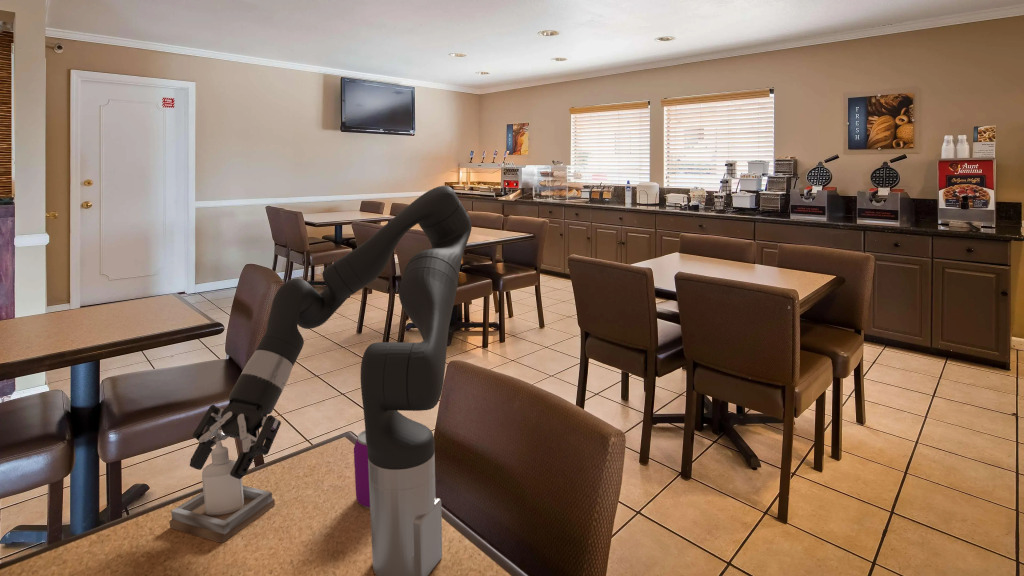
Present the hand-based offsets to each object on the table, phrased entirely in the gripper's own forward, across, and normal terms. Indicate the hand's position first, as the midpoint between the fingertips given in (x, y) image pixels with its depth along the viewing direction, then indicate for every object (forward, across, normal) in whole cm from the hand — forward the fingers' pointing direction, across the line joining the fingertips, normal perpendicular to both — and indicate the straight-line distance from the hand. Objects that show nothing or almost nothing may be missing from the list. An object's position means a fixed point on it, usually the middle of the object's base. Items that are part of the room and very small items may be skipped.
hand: (214, 472), depth 91 cm
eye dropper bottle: (+4, 0, -6) cm, 7 cm away
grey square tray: (+5, 0, -7) cm, 8 cm away
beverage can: (-4, -21, -16) cm, 27 cm away
